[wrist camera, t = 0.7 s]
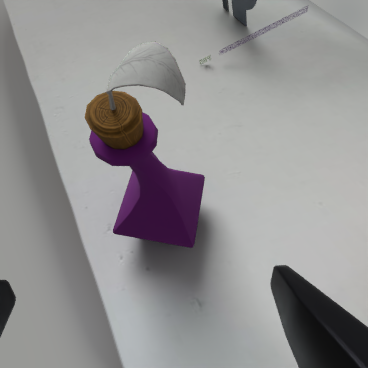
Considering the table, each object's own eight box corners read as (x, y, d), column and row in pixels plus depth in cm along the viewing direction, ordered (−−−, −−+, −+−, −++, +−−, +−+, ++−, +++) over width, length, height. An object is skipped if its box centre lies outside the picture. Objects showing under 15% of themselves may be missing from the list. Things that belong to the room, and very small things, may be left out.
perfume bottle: (120, 241, 24) (-10, 112, 8) (139, 179, 27) (78, -1, 11) (192, 255, 23) (215, 145, 7) (202, 189, 26) (234, 15, 10)
